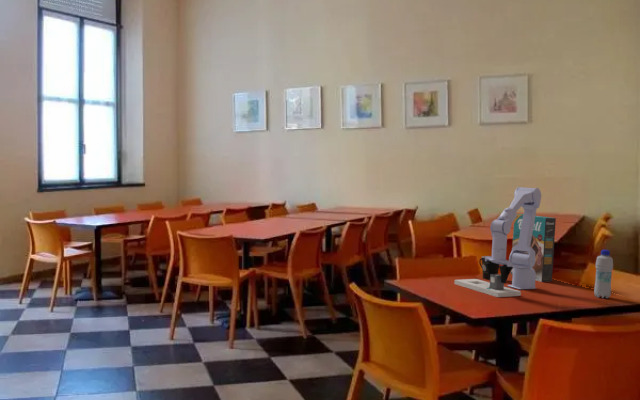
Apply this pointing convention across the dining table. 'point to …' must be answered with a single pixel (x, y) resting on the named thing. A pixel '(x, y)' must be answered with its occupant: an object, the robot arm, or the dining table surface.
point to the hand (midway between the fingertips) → (497, 281)
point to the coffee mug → (485, 274)
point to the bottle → (603, 274)
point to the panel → (486, 288)
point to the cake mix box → (539, 245)
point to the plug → (496, 282)
